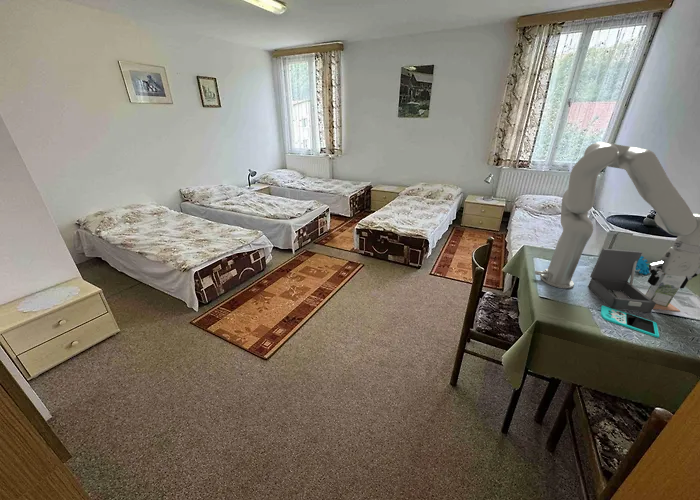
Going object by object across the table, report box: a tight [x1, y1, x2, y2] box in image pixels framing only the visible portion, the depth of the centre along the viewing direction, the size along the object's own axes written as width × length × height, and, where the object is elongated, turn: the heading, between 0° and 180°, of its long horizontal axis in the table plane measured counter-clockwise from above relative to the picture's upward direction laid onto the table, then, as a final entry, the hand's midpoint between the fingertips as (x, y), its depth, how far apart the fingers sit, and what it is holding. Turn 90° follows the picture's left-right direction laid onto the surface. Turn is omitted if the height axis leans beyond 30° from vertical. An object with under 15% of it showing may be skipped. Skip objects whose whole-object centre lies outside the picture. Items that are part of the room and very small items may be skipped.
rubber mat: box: [652, 302, 681, 313], centre depth 117 cm, size 10×10×1 cm
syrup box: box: [644, 271, 686, 307], centre depth 114 cm, size 6×6×14 cm
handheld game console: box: [600, 305, 660, 339], centre depth 106 cm, size 10×16×1 cm, turn 50°
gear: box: [635, 255, 652, 276], centre depth 141 cm, size 11×6×10 cm
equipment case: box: [587, 248, 656, 314], centre depth 116 cm, size 14×18×18 cm
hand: (664, 285), depth 114 cm, fingers open, 9 cm apart
